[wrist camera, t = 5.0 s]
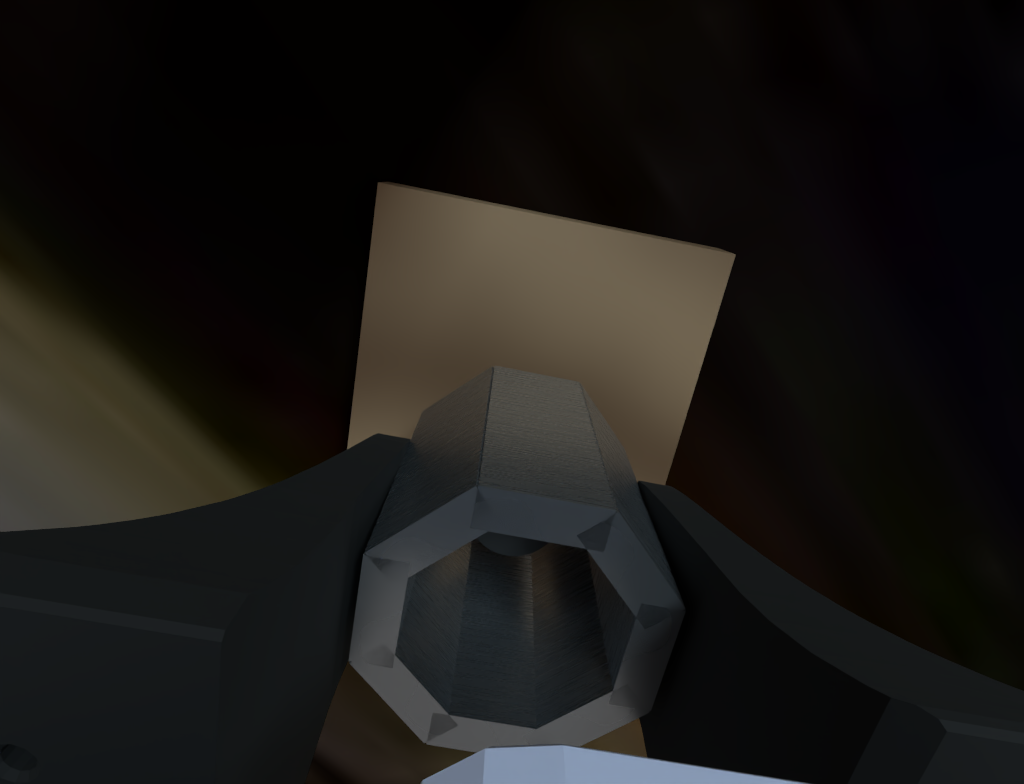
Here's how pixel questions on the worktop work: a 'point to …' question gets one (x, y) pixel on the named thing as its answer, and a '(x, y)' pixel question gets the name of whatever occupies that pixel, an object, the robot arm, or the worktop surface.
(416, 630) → the tube
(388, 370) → the shaft block
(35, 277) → the worktop surface
